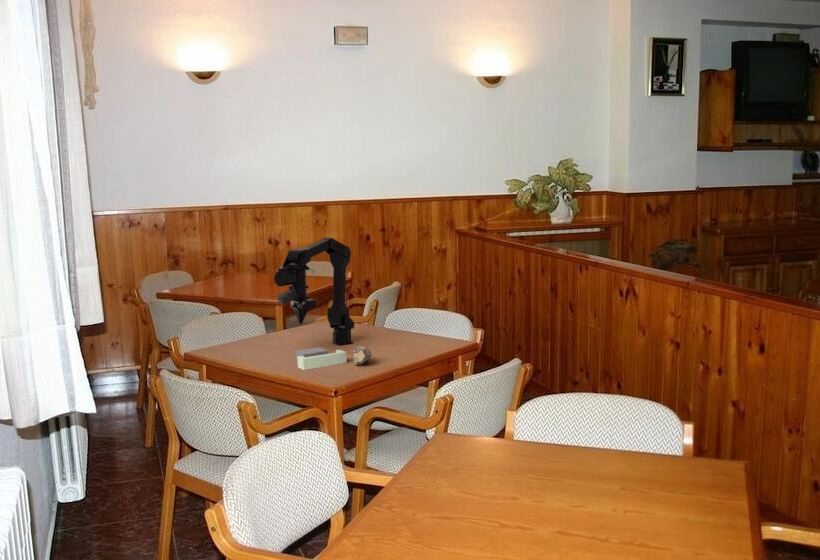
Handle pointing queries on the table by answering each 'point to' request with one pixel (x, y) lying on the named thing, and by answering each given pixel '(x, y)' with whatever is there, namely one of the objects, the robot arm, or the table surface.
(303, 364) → the board
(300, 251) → the robot arm
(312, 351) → the slab
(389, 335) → the table surface
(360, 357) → the rock
